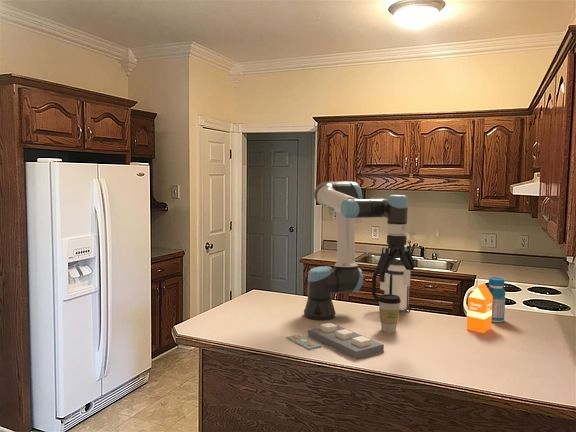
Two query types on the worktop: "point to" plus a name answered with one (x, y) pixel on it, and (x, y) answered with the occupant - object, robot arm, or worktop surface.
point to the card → (303, 342)
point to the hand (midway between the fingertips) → (395, 287)
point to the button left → (328, 327)
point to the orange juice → (479, 309)
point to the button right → (361, 341)
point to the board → (345, 343)
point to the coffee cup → (389, 311)
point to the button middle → (344, 334)
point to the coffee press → (394, 283)
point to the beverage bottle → (497, 298)
